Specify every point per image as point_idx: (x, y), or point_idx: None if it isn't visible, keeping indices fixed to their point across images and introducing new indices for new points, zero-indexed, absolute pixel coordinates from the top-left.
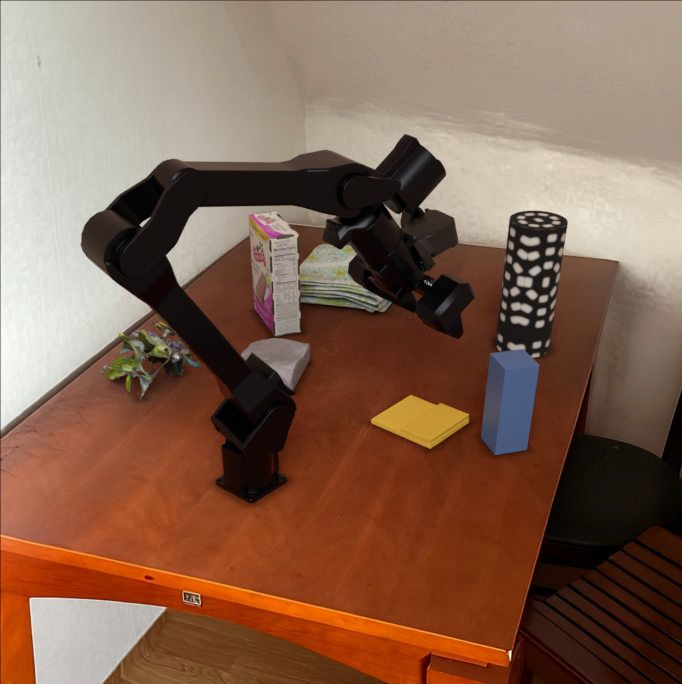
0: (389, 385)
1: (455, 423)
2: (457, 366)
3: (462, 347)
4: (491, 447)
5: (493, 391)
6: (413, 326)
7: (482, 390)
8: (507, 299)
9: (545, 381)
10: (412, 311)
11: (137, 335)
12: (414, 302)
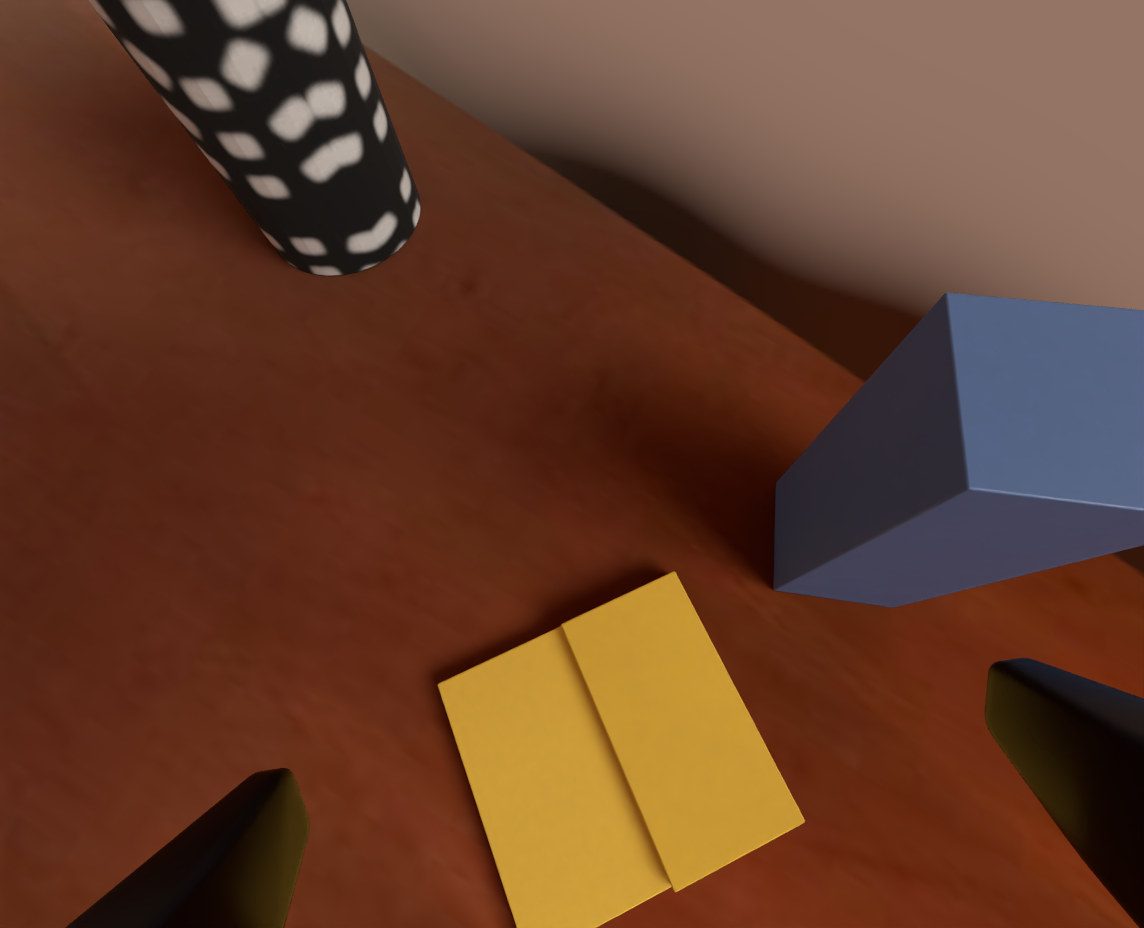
0: (315, 707)
1: (716, 652)
2: (338, 423)
3: (249, 352)
4: (868, 601)
5: (951, 554)
6: (36, 415)
7: (507, 431)
8: (241, 116)
9: (544, 258)
10: (296, 857)
11: None
12: (238, 865)
